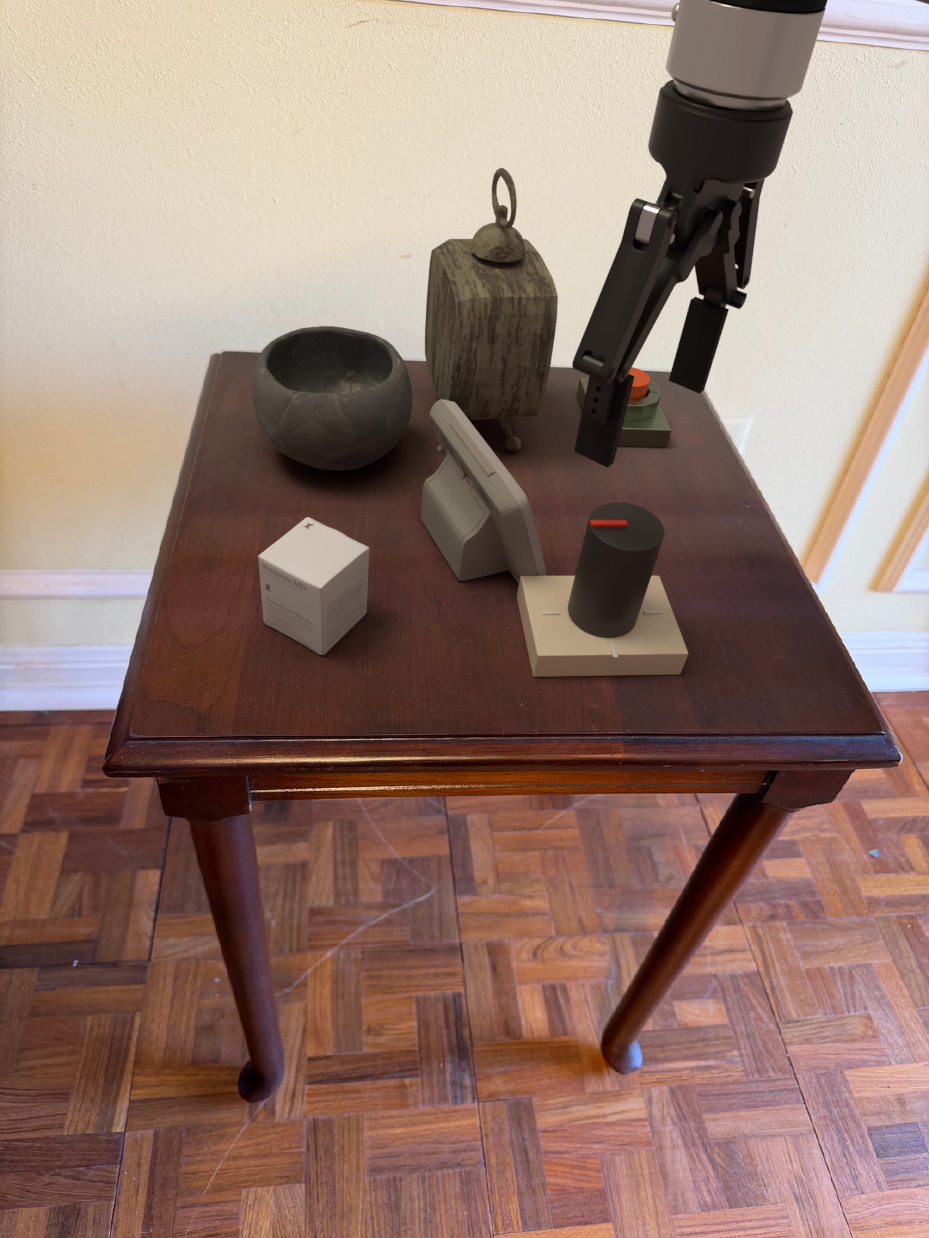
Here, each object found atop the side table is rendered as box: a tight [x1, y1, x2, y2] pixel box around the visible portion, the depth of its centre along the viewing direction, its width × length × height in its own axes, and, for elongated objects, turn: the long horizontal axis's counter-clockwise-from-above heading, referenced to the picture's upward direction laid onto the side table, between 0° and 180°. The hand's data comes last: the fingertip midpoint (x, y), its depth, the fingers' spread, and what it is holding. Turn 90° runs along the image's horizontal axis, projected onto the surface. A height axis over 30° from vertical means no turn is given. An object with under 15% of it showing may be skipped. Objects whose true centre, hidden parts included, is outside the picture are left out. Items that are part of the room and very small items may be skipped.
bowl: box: [251, 325, 413, 472], centre depth 85 cm, size 15×15×10 cm
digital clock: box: [420, 399, 547, 585], centre depth 77 cm, size 16×9×11 cm, turn 13°
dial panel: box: [516, 575, 689, 678], centre depth 73 cm, size 12×10×3 cm
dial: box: [568, 501, 666, 638], centre depth 68 cm, size 6×6×9 cm
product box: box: [257, 516, 371, 656], centre depth 69 cm, size 6×6×7 cm
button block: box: [576, 376, 673, 448], centre depth 96 cm, size 10×8×4 cm
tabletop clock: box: [424, 167, 559, 453], centre depth 85 cm, size 14×9×25 cm, turn 13°
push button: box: [628, 366, 651, 400], centre depth 94 cm, size 4×4×2 cm
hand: (642, 419), depth 65 cm, fingers open, 13 cm apart
